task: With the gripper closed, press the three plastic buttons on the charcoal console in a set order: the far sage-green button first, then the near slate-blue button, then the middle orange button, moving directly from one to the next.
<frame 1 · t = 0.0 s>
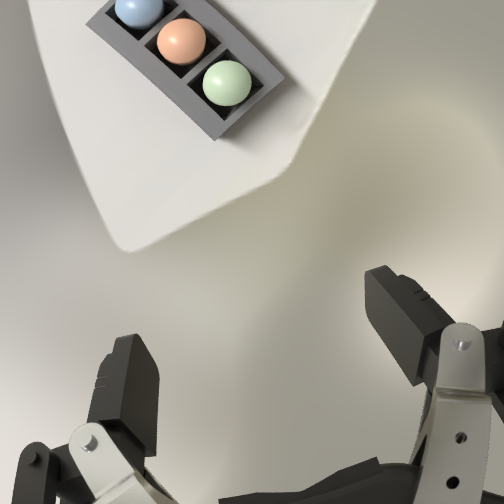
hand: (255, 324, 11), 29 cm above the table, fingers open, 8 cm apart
console: (184, 49, 30), on the table
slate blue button: (140, 7, 23), point 4 cm above the table, slide at 0.0 cm
orange button: (182, 42, 26), point 4 cm above the table, slide at 0.0 cm
sage button: (225, 84, 29), point 4 cm above the table, slide at 0.0 cm
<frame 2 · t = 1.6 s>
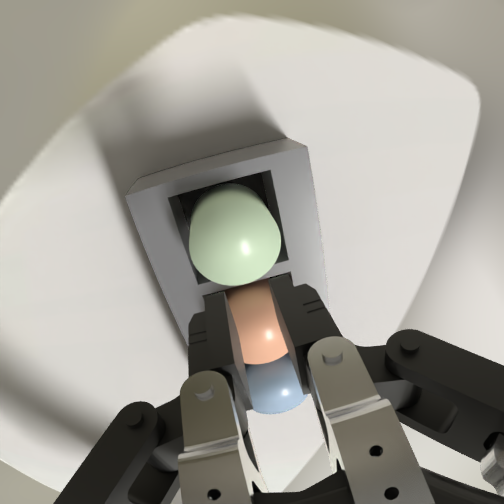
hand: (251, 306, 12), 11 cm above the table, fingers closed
console: (247, 285, 24), on the table
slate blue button: (273, 380, 24), point 4 cm above the table, slide at 0.0 cm
orange button: (256, 320, 21), point 4 cm above the table, slide at 0.0 cm
sage button: (232, 232, 18), point 4 cm above the table, slide at 0.0 cm
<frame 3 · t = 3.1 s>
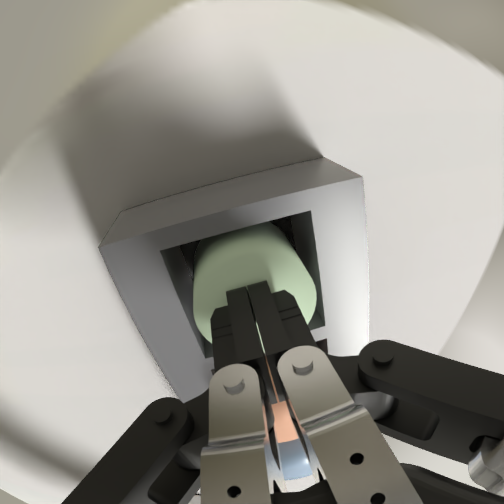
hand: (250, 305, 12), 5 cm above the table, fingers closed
console: (264, 340, 19), on the table
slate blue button: (294, 445, 18), point 4 cm above the table, slide at 0.0 cm
orange button: (279, 393, 15), point 4 cm above the table, slide at 0.0 cm
sage button: (249, 284, 13), point 3 cm above the table, slide at 1.0 cm, touching gripper
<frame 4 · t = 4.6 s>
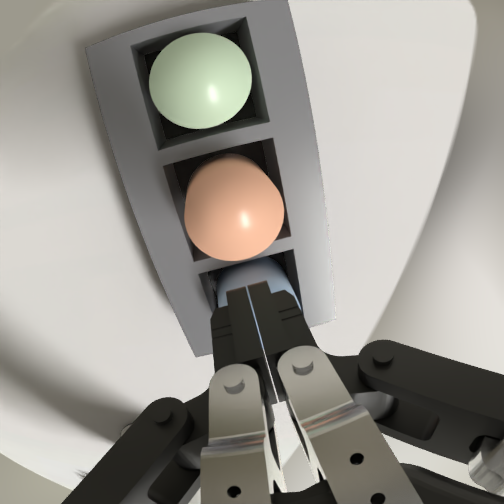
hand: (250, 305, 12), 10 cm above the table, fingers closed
console: (224, 182, 20), on the table
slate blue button: (256, 302, 19), point 4 cm above the table, slide at 0.0 cm
orange button: (231, 204, 16), point 4 cm above the table, slide at 0.0 cm
sage button: (200, 81, 14), point 3 cm above the table, slide at 1.2 cm
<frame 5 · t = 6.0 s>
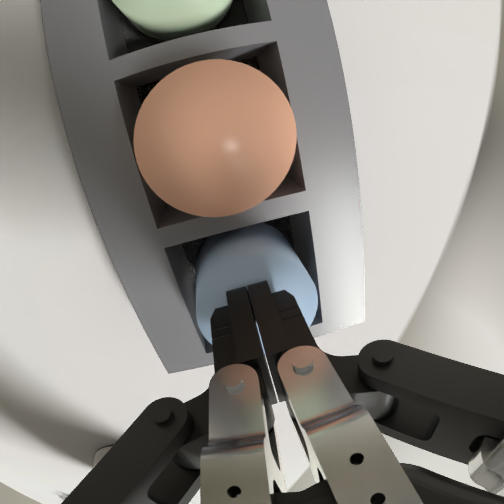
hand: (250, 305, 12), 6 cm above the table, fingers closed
console: (209, 126, 14), on the table
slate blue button: (251, 287, 13), point 4 cm above the table, slide at 0.5 cm, touching gripper
orange button: (213, 134, 10), point 4 cm above the table, slide at 0.0 cm
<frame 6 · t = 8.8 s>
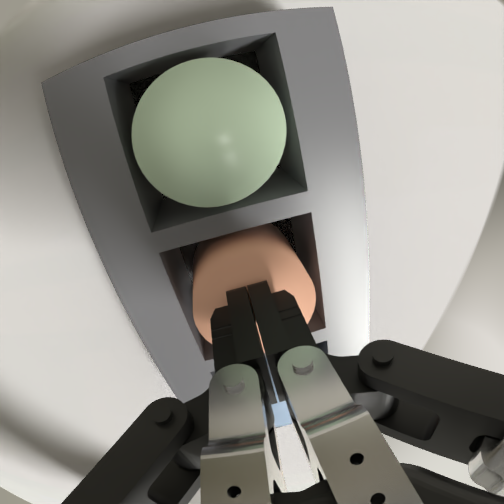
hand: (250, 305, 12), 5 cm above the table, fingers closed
console: (239, 251, 16), on the table
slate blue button: (274, 378, 16), point 3 cm above the table, slide at 1.2 cm
orange button: (248, 284, 13), point 3 cm above the table, slide at 1.1 cm, touching gripper
sage button: (207, 128, 10), point 3 cm above the table, slide at 1.2 cm
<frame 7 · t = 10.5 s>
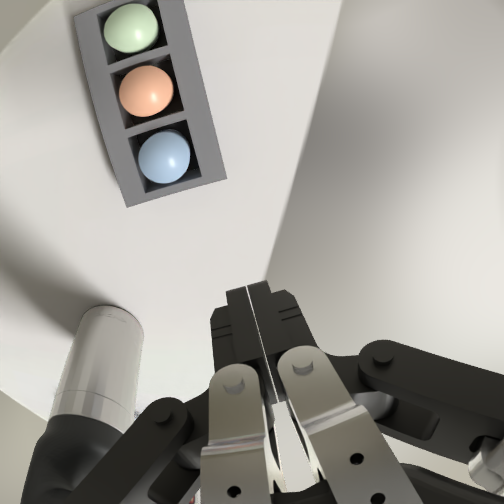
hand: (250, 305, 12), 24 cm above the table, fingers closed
console: (152, 91, 28), on the table
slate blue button: (165, 155, 28), point 3 cm above the table, slide at 1.2 cm
orange button: (147, 91, 25), point 3 cm above the table, slide at 1.2 cm
sage button: (132, 30, 22), point 3 cm above the table, slide at 1.2 cm
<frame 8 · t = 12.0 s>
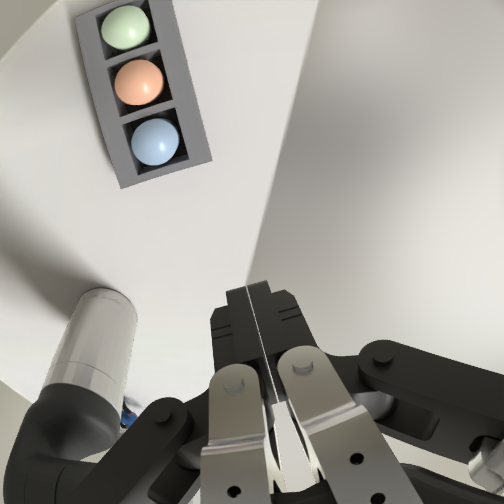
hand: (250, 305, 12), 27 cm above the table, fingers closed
console: (145, 84, 30), on the table
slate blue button: (156, 140, 30), point 3 cm above the table, slide at 1.2 cm
person figurine: (106, 397, 51), on the table
orange button: (140, 83, 27), point 3 cm above the table, slide at 1.2 cm
sage button: (127, 29, 24), point 3 cm above the table, slide at 1.2 cm
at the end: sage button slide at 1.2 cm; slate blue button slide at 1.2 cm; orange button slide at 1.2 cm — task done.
